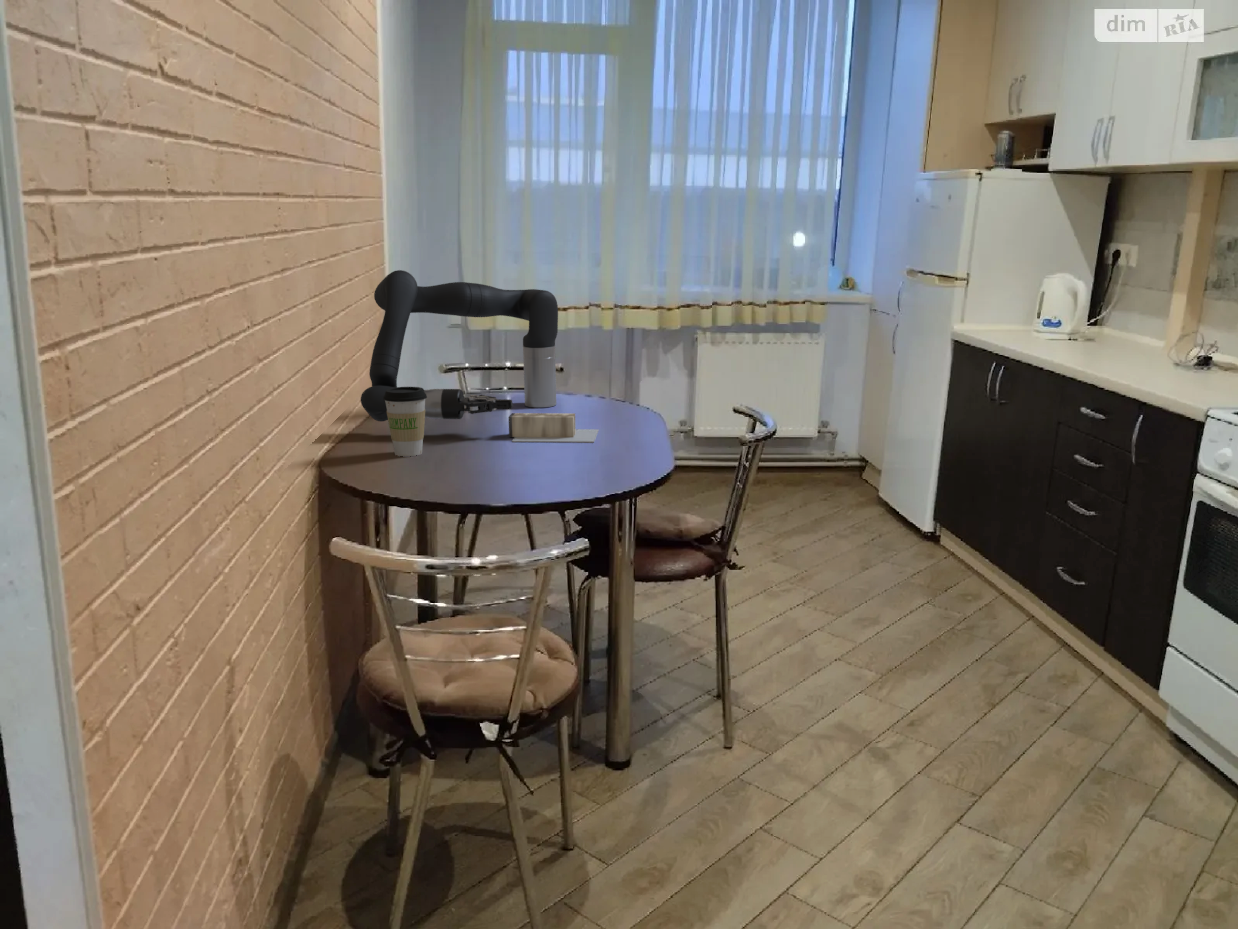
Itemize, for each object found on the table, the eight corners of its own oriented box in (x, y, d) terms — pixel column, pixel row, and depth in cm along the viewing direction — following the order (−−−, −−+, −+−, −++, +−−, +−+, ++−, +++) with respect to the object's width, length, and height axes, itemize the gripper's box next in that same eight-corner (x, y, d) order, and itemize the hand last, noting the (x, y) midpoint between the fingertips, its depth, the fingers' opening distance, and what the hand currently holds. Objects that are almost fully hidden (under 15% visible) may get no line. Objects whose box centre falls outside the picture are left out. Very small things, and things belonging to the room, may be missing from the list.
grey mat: (521, 430, 250) (521, 428, 250) (598, 430, 249) (598, 429, 249) (512, 442, 237) (512, 440, 237) (593, 442, 236) (593, 441, 236)
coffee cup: (378, 454, 225) (373, 390, 222) (413, 446, 232) (409, 384, 229) (403, 460, 219) (399, 394, 215) (438, 453, 226) (435, 389, 222)
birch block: (511, 413, 245) (575, 413, 244) (512, 432, 246) (575, 432, 245) (508, 416, 240) (573, 417, 239) (509, 436, 241) (573, 437, 240)
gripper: (435, 393, 236) (506, 393, 234) (448, 384, 248) (515, 385, 247) (437, 424, 237) (507, 424, 236) (449, 413, 250) (516, 414, 249)
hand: (511, 404), depth 242 cm, fingers closed
